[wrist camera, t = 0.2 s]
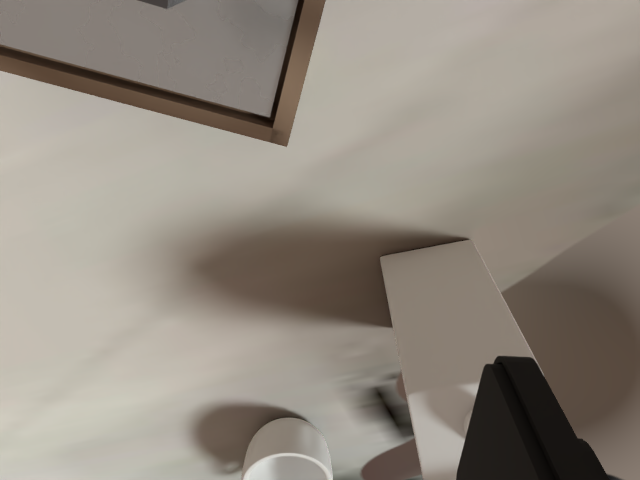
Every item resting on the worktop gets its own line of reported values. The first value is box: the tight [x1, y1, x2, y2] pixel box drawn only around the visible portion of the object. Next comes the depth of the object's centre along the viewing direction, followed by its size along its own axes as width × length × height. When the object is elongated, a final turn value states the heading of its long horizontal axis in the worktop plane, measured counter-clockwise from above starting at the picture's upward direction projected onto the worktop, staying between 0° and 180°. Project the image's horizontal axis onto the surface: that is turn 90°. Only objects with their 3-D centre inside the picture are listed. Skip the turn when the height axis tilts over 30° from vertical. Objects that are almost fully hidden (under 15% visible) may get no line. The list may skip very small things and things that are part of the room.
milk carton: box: [380, 240, 544, 480], centre depth 36 cm, size 7×7×19 cm
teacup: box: [242, 418, 333, 480], centre depth 50 cm, size 10×8×5 cm
